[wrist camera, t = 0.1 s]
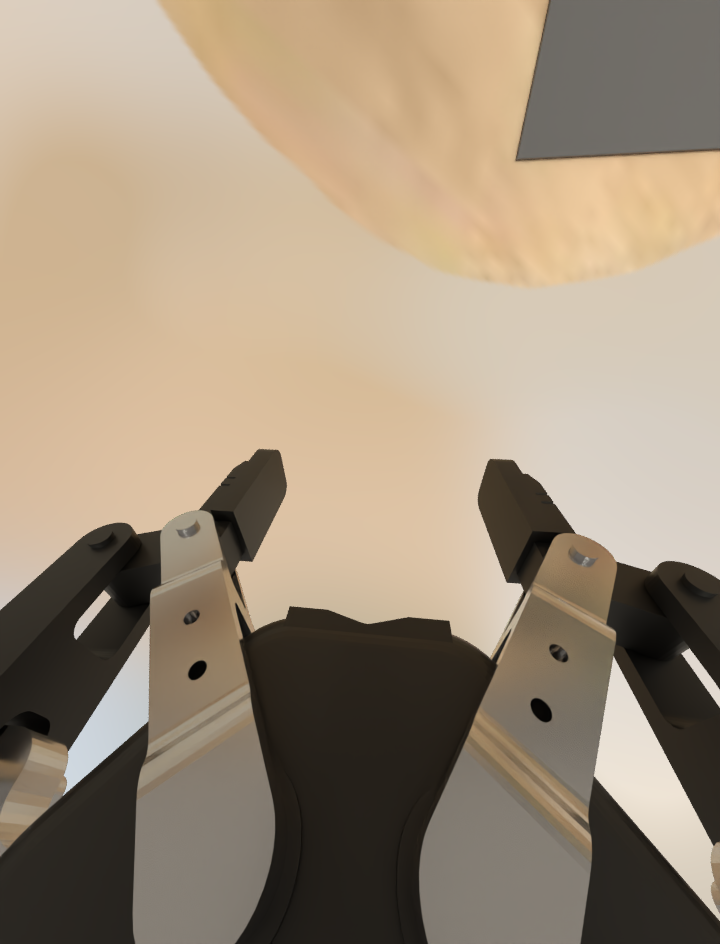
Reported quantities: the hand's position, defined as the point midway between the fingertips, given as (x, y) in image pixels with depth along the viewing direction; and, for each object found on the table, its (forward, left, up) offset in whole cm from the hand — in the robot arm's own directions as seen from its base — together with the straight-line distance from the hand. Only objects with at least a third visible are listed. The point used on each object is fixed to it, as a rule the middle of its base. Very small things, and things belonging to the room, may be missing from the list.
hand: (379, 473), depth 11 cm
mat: (-21, +20, -29) cm, 41 cm away
